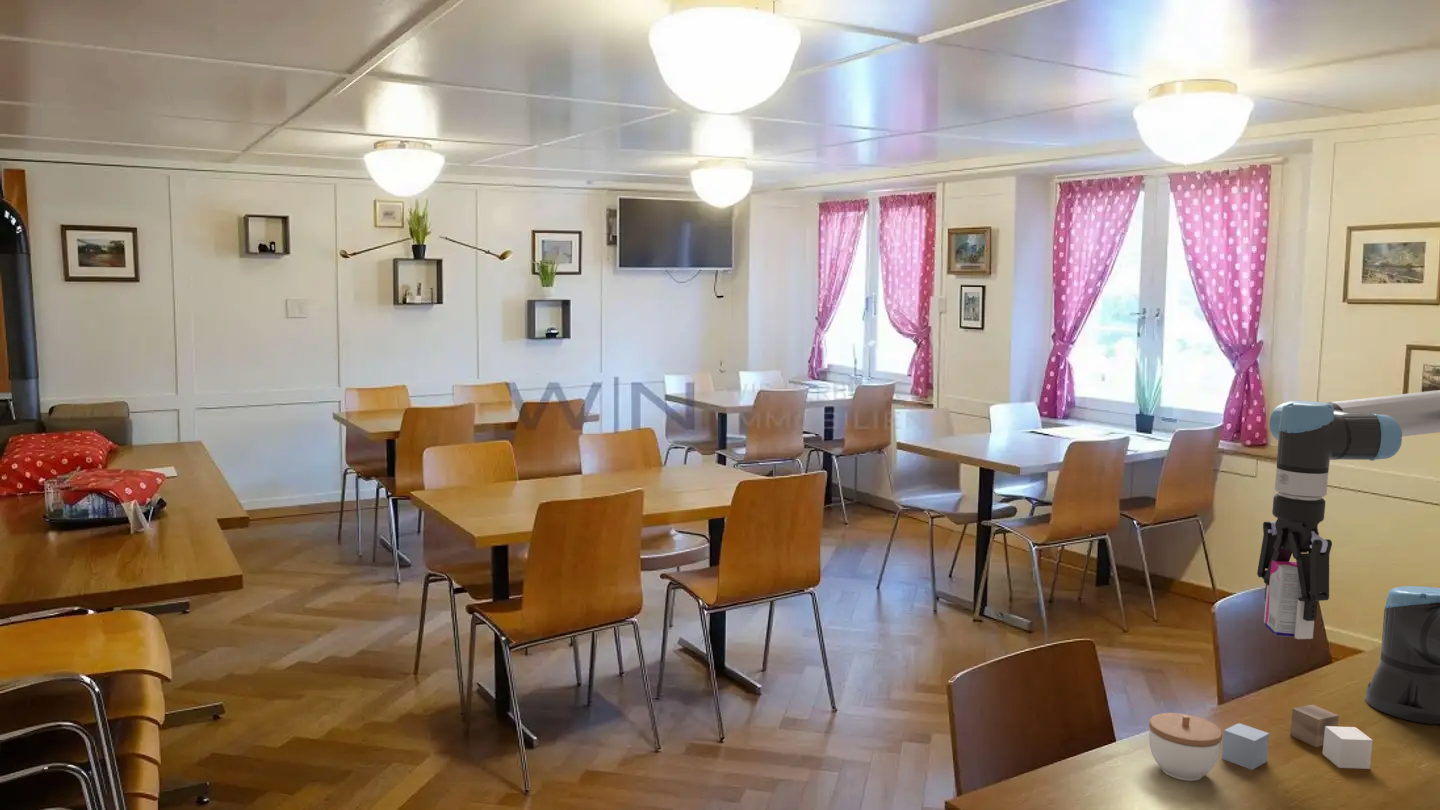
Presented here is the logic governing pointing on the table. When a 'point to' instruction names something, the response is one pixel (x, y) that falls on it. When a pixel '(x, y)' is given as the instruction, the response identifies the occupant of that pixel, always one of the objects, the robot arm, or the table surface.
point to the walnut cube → (1311, 724)
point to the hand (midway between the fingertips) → (1287, 630)
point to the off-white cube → (1347, 747)
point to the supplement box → (1283, 598)
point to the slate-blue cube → (1245, 746)
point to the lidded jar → (1184, 745)
